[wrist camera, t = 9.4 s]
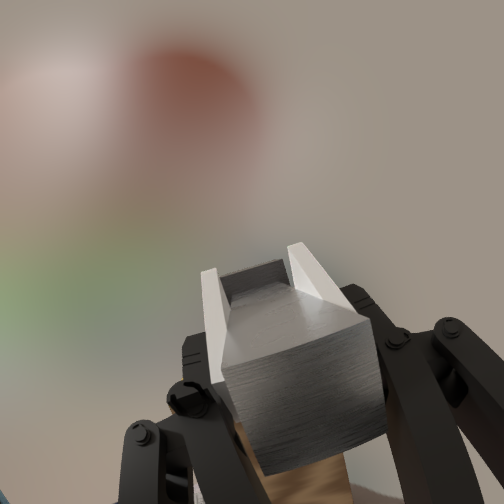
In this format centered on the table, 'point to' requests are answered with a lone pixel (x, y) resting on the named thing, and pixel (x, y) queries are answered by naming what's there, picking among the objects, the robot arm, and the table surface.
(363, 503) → the table surface
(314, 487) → the stand
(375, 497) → the table surface
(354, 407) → the metal block
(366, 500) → the table surface
